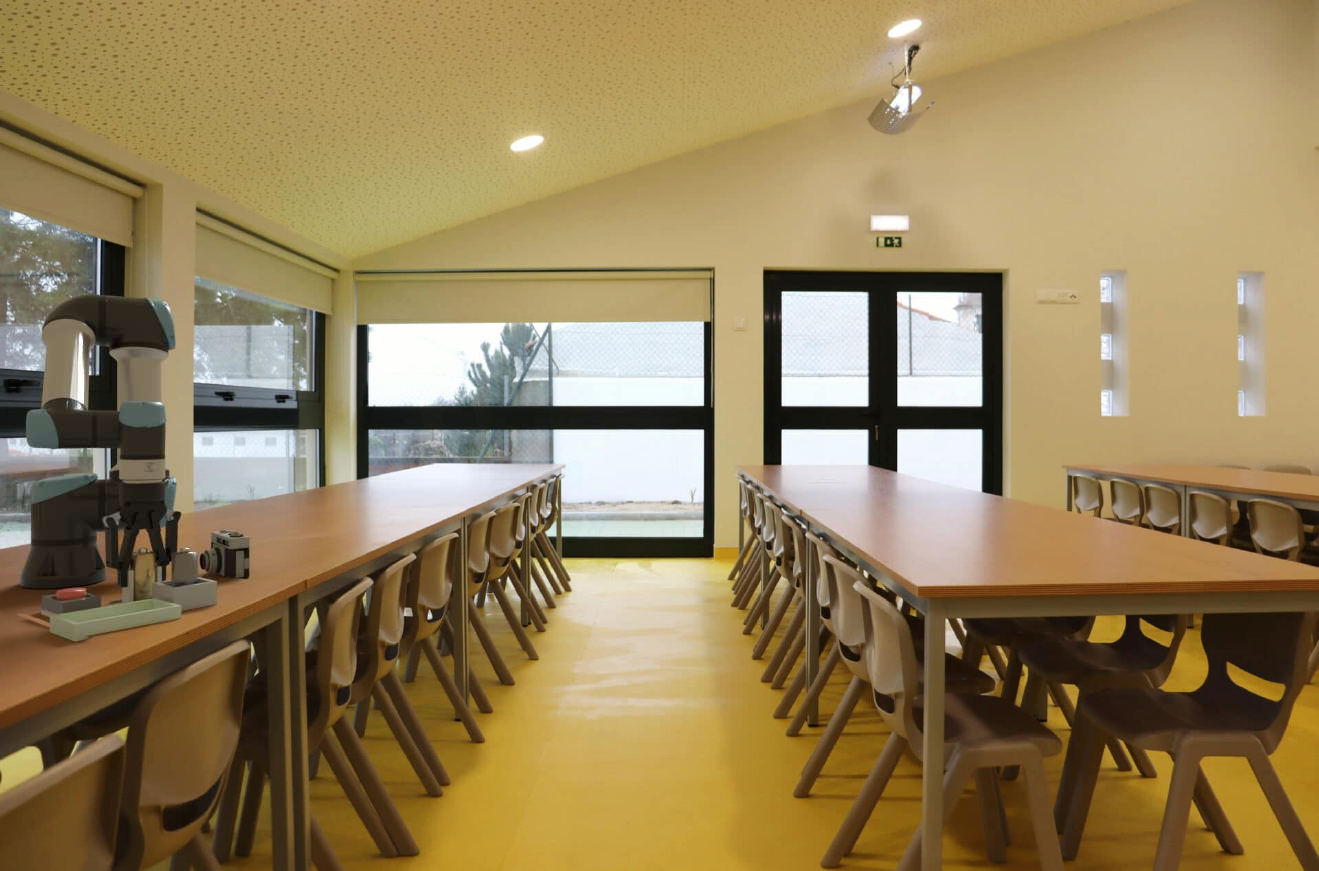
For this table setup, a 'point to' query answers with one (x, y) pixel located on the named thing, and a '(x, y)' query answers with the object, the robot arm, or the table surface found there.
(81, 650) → the table surface
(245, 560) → the camera
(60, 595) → the button
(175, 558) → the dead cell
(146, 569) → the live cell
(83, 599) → the button housing
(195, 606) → the bin
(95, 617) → the trough
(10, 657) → the table surface
